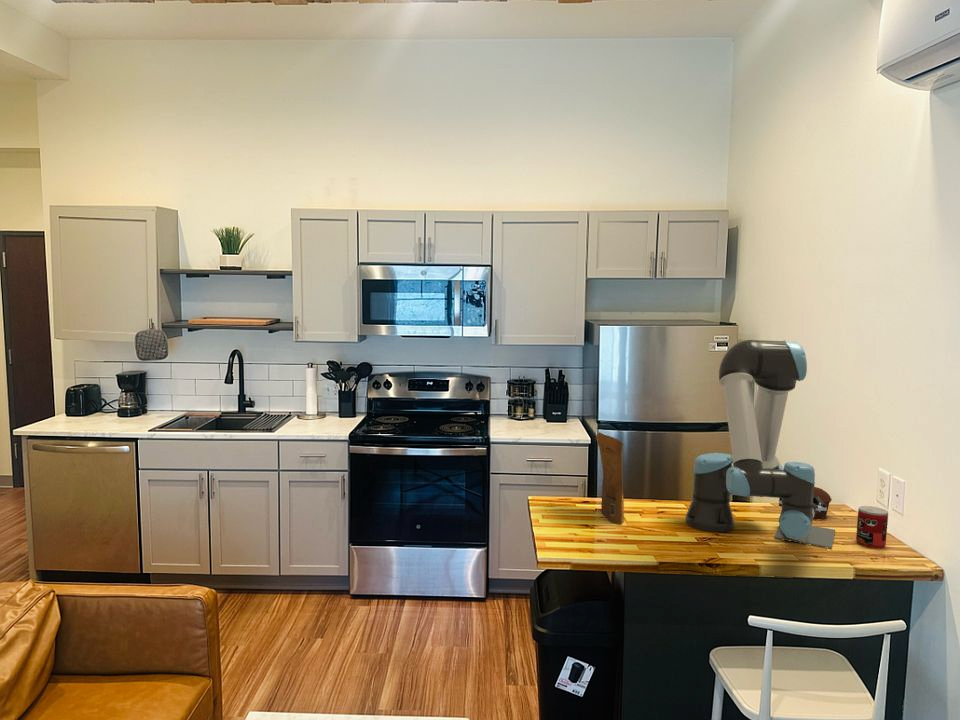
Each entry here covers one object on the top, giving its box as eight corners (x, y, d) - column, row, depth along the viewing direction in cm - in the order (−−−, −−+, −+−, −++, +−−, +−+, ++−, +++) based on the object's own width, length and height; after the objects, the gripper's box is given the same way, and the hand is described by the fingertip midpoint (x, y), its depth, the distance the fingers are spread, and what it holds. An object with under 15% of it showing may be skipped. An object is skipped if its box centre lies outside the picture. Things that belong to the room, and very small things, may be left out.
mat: (774, 538, 209) (774, 536, 209) (781, 522, 225) (781, 520, 225) (831, 549, 201) (831, 547, 201) (835, 531, 217) (835, 529, 217)
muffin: (794, 518, 230) (796, 489, 229) (791, 509, 240) (793, 482, 239) (832, 522, 226) (834, 494, 225) (828, 513, 236) (830, 485, 235)
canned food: (850, 540, 209) (852, 505, 208) (874, 539, 210) (877, 505, 209) (866, 549, 202) (869, 513, 201) (891, 548, 202) (894, 513, 201)
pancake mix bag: (609, 526, 216) (613, 441, 213) (591, 508, 235) (595, 430, 232) (629, 526, 217) (633, 441, 214) (610, 508, 236) (613, 430, 233)
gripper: (774, 520, 193) (784, 500, 213) (824, 529, 186) (830, 507, 206) (775, 494, 192) (785, 477, 212) (826, 502, 185) (831, 484, 206)
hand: (807, 492), depth 209 cm, fingers closed
